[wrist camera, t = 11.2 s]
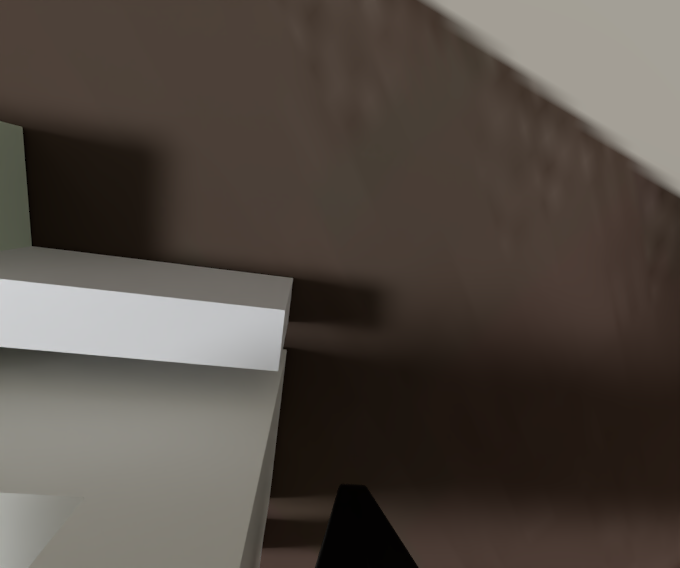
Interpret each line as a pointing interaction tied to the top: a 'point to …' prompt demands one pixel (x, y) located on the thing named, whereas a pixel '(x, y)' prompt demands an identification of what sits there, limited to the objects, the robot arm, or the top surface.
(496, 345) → the top surface
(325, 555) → the robot arm
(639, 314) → the top surface
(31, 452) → the white lidded box
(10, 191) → the green block with prongs
